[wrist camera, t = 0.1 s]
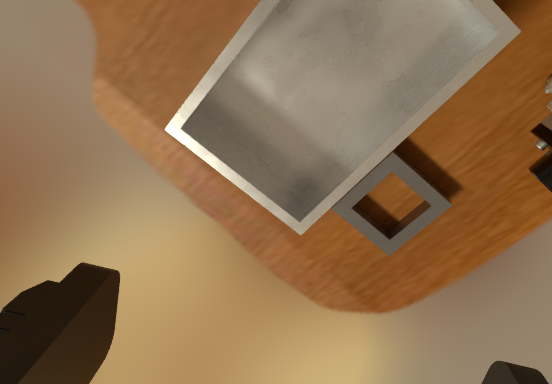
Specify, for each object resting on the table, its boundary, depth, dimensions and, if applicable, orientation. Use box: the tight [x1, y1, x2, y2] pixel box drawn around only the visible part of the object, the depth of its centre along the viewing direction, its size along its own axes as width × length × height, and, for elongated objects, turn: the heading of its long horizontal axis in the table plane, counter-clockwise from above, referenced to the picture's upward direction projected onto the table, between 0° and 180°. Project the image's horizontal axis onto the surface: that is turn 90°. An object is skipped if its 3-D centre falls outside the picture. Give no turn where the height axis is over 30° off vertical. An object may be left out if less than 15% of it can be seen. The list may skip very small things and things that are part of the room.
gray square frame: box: [331, 149, 453, 255], centre depth 32 cm, size 6×6×1 cm
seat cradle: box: [164, 0, 521, 235], centre depth 26 cm, size 17×11×5 cm, turn 140°
